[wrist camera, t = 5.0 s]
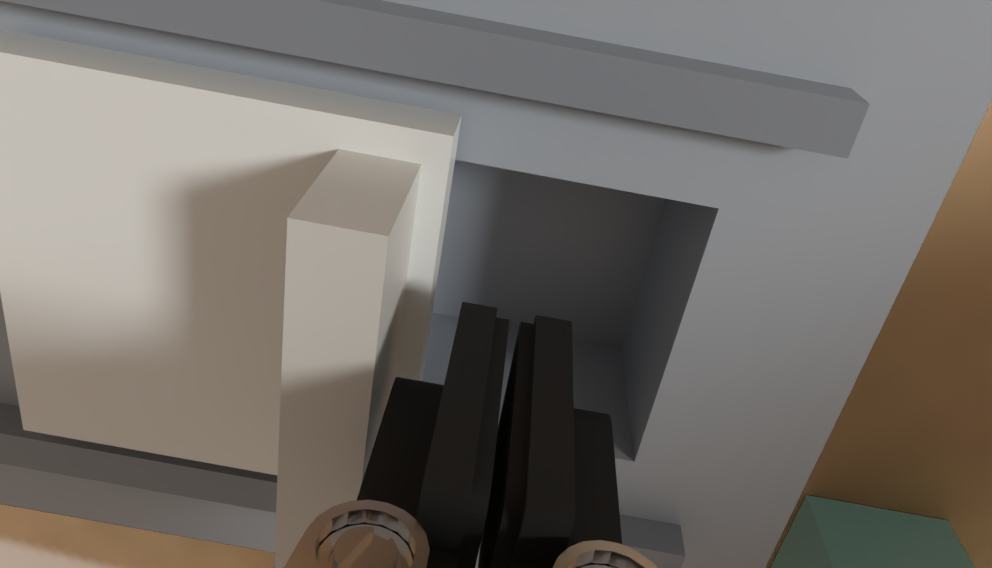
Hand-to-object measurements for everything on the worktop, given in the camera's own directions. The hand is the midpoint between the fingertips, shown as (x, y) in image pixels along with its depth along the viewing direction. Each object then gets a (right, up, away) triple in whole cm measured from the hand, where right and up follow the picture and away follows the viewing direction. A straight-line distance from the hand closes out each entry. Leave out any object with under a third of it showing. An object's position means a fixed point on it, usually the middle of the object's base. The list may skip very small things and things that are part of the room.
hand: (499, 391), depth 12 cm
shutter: (-5, +2, +2) cm, 5 cm away
